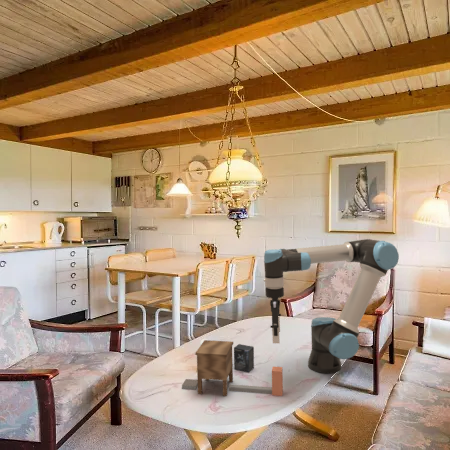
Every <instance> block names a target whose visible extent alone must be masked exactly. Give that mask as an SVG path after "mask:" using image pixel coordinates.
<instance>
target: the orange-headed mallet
mask: <svg viewBox="0 0 450 450" xmlns="http://www.w3.org/2000/svg"><path fill="white" fill-rule="evenodd" d="M283 375H284V372H283V366H272V368H271V386H270V387H268V386H257V385H245V384H244V385H243V384H231V383H230V384H229V386H228V392H241V393H242V392H243V393H255V394H264V395H265V394H266V395H268V394H269V395H272V396H277V397H283V393H284V389H283V388H284V385H283V384H284V383H283V382H284V381H283V380H284V378H283V377H284V376H283Z"/></svg>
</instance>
